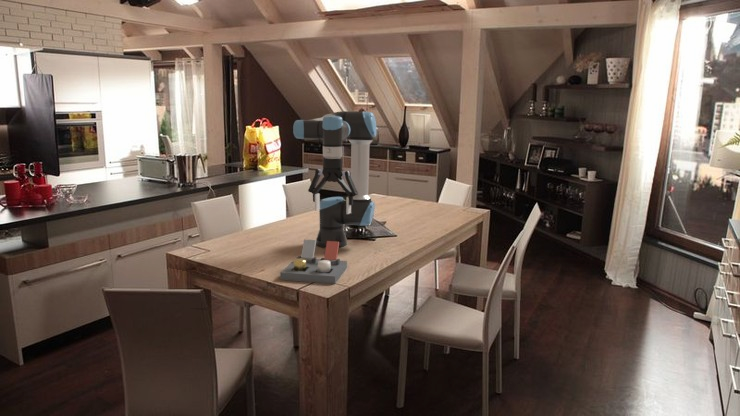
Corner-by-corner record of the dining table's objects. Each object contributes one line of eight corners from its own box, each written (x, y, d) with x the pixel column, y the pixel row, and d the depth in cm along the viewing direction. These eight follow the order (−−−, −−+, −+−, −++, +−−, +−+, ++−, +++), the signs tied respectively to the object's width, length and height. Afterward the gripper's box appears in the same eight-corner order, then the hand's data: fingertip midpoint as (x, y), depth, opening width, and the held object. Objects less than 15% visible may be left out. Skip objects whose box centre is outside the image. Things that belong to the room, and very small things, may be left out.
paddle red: (324, 263, 208) (327, 242, 212) (336, 264, 207) (339, 242, 211) (323, 262, 206) (326, 240, 210) (335, 263, 206) (338, 241, 209)
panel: (297, 264, 215) (296, 253, 214) (347, 267, 212) (347, 256, 211) (280, 279, 196) (280, 267, 195) (335, 283, 192) (335, 271, 191)
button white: (319, 268, 201) (319, 259, 201) (331, 268, 201) (331, 260, 200) (316, 272, 197) (316, 263, 196) (328, 272, 196) (328, 264, 195)
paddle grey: (301, 261, 210) (305, 240, 213) (312, 262, 209) (316, 241, 212) (300, 260, 208) (304, 239, 212) (311, 261, 207) (315, 240, 211)
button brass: (296, 266, 203) (295, 258, 202) (307, 267, 202) (307, 258, 202) (291, 270, 198) (291, 261, 198) (304, 271, 197) (304, 262, 197)
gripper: (299, 156, 192) (300, 210, 197) (358, 160, 183) (358, 216, 188) (308, 154, 199) (309, 207, 203) (366, 158, 190) (366, 212, 194)
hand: (332, 211), depth 196 cm, fingers open, 13 cm apart
